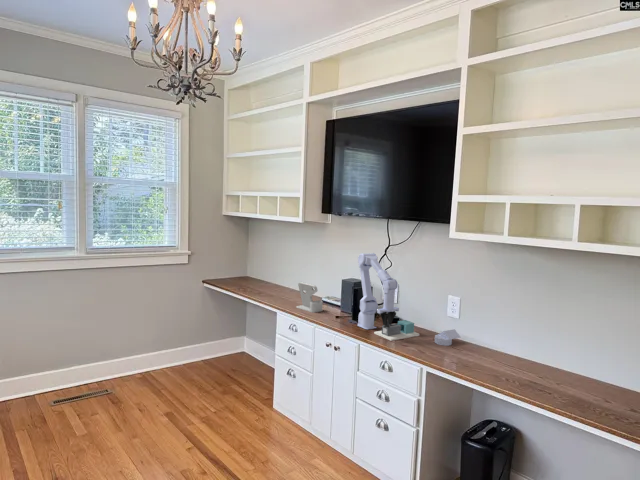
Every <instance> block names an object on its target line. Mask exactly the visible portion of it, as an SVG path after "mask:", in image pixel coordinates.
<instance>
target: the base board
mask: <svg viewBox="0 0 640 480" xmlns="http://www.w3.org/2000/svg"><path fill="white" fill-rule="evenodd" d="M373 334H374V335H376V336H379V337H381V338H384V339H387V341H397V340H402V339H409V338H415V337H419V336H420V333H418V332H416V331H414V332H413V333H407V334H405V333H402V332H401V334H397V335H392V336H386V335H383V334H382V330H378V331H377V330H376V331H373Z"/></svg>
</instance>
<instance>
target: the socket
mask: <svg viewBox="0 0 640 480" xmlns="http://www.w3.org/2000/svg"><path fill="white" fill-rule="evenodd" d="M397 325H401V332H402V333H405V334H407V333H413V332H415V323H414V322H412V321H409V320H407V319H403V320H397Z"/></svg>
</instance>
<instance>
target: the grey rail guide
mask: <svg viewBox="0 0 640 480" xmlns="http://www.w3.org/2000/svg"><path fill="white" fill-rule="evenodd" d="M383 327H385V325H382V326H381V331H382V334H383V335H386V336H392V335H397V334H401V325H398V323H392V324H391V325H389V327H386V328H387V334H385V333H383Z"/></svg>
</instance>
